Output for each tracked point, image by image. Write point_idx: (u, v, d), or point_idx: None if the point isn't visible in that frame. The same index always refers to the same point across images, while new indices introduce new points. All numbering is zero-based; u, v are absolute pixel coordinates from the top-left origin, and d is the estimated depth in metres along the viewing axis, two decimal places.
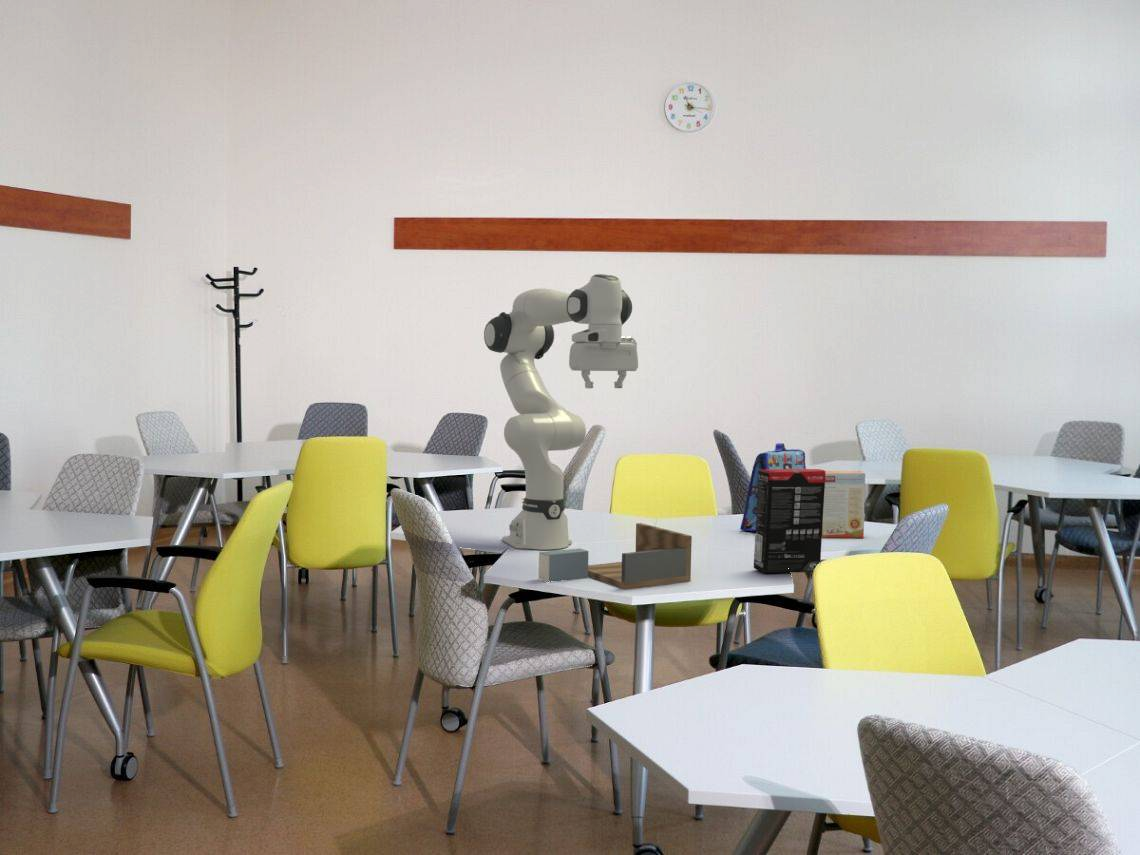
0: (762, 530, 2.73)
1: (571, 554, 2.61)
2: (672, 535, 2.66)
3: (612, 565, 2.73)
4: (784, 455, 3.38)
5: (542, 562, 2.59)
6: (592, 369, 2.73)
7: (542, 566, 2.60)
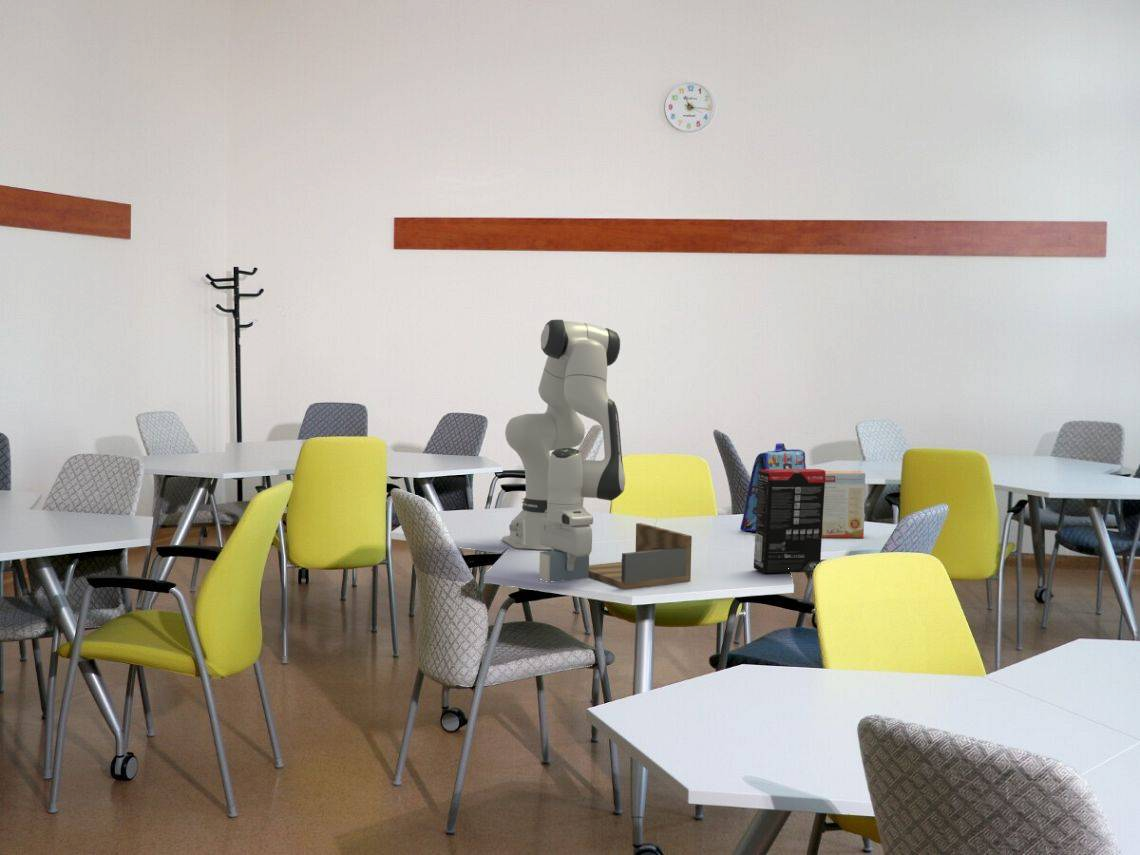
0: (762, 530, 2.73)
1: None
2: (672, 535, 2.66)
3: (612, 565, 2.73)
4: (785, 455, 3.38)
5: (543, 562, 2.60)
6: None
7: (543, 565, 2.60)
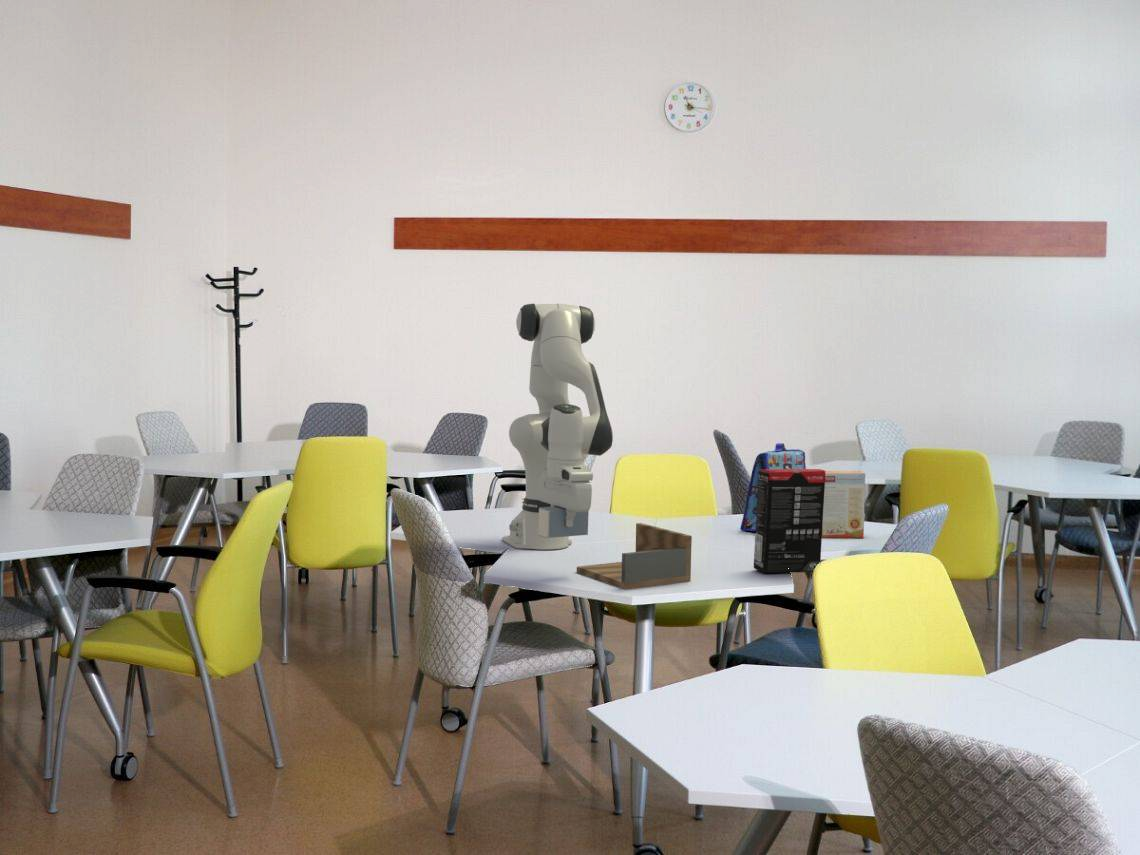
0: (762, 530, 2.73)
1: None
2: (672, 535, 2.66)
3: (612, 565, 2.73)
4: (784, 455, 3.38)
5: (542, 517, 2.59)
6: None
7: (542, 521, 2.59)
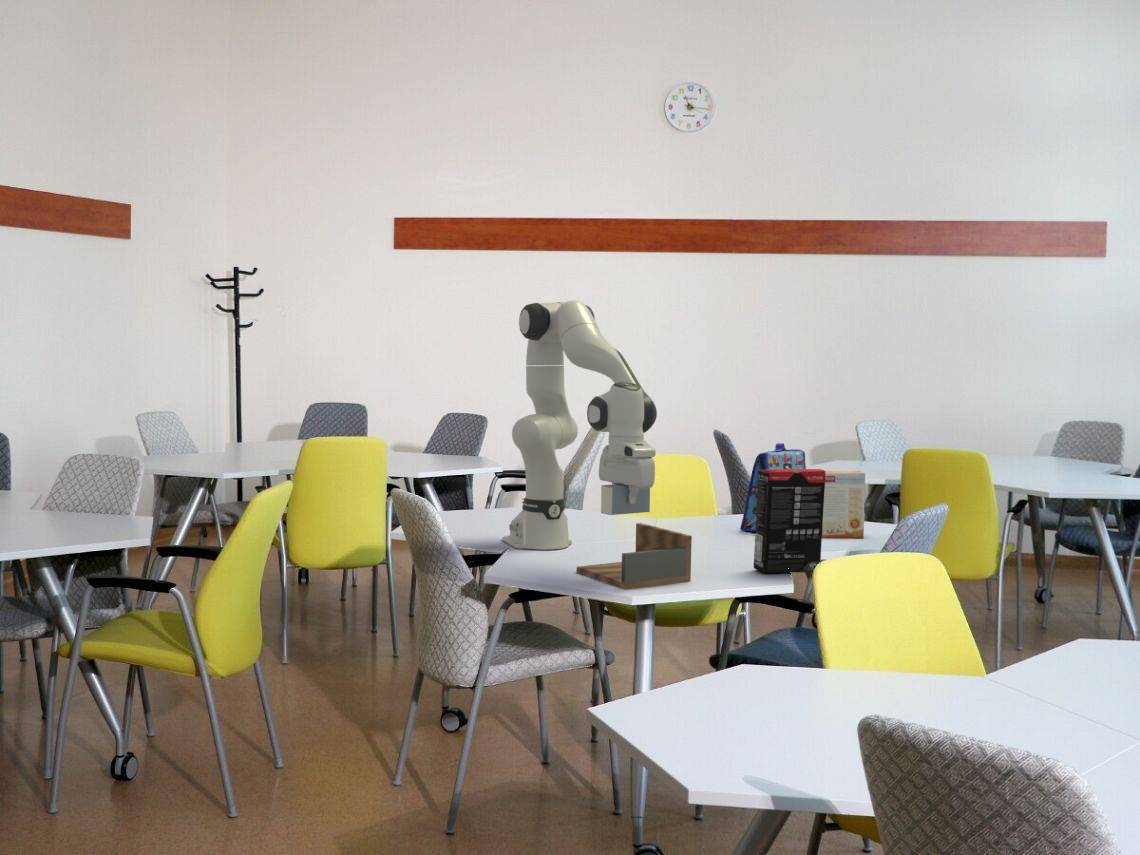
0: (762, 530, 2.73)
1: None
2: (672, 535, 2.66)
3: (612, 565, 2.73)
4: (784, 455, 3.38)
5: (605, 495, 2.60)
6: None
7: (605, 498, 2.60)
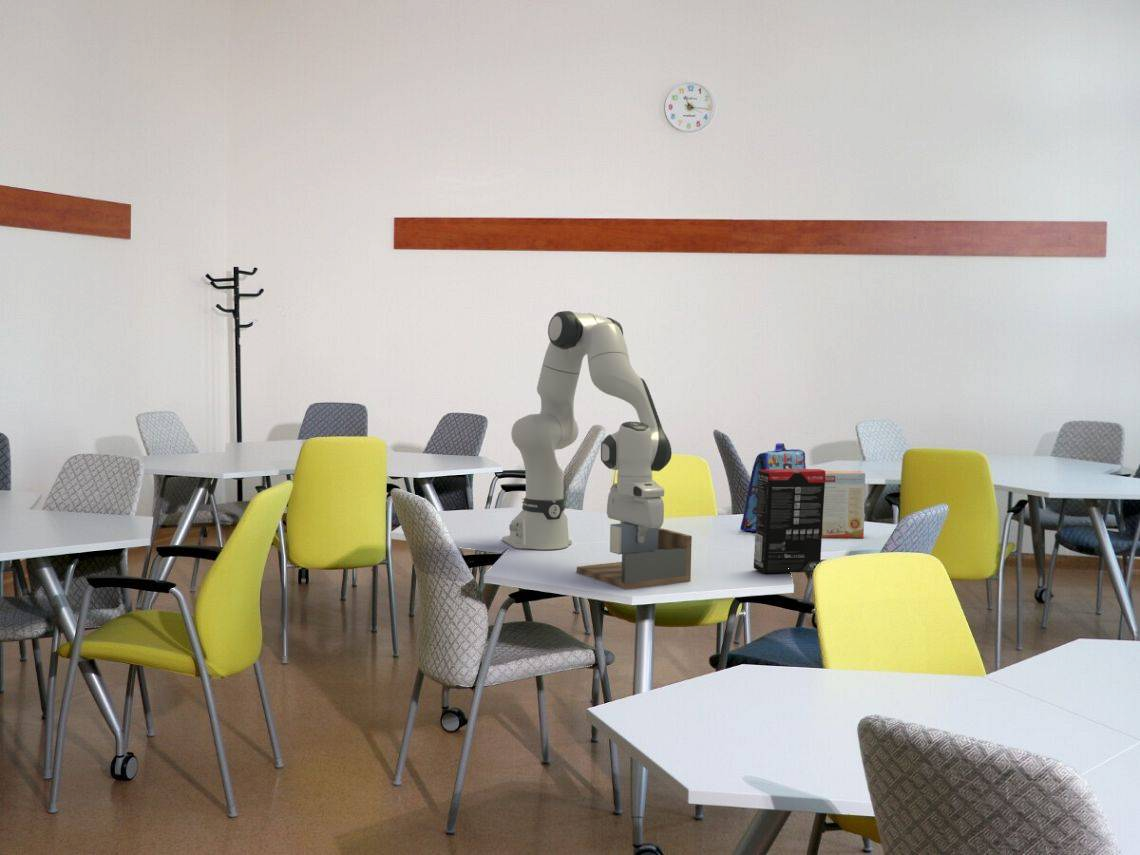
0: (762, 530, 2.73)
1: None
2: (672, 535, 2.66)
3: (612, 565, 2.73)
4: (784, 455, 3.38)
5: (614, 534, 2.62)
6: None
7: (614, 538, 2.62)
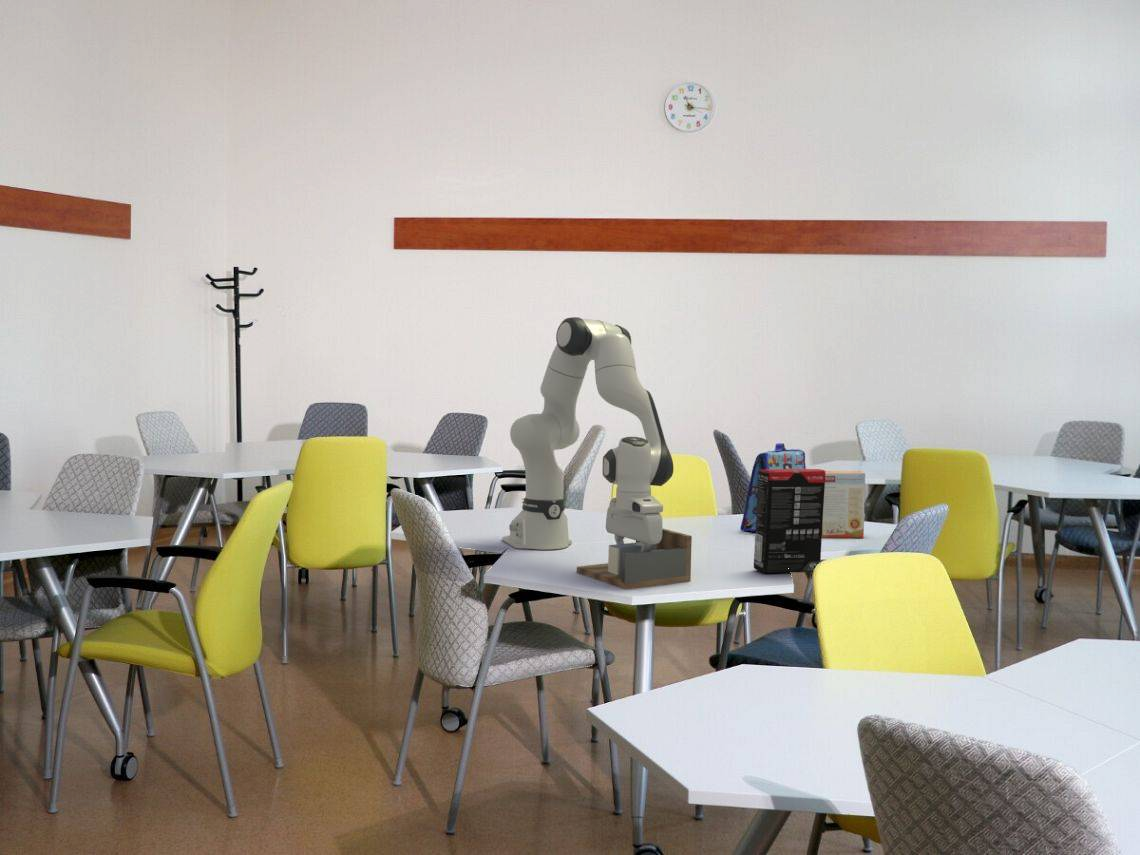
0: (762, 530, 2.73)
1: (640, 547, 2.64)
2: (672, 535, 2.66)
3: None
4: (784, 455, 3.38)
5: (612, 555, 2.62)
6: None
7: (612, 558, 2.62)
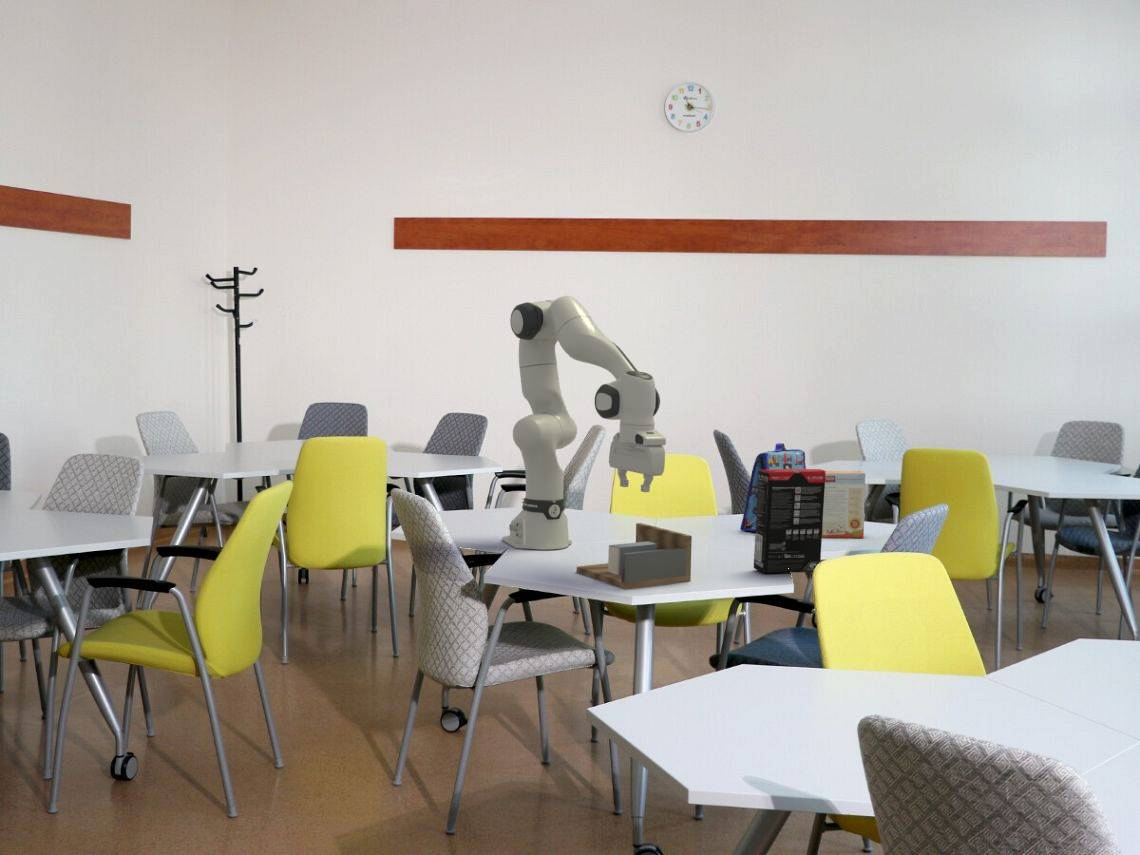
0: (762, 530, 2.73)
1: (640, 547, 2.64)
2: (672, 535, 2.66)
3: None
4: (784, 455, 3.38)
5: (612, 555, 2.62)
6: None
7: (612, 558, 2.62)
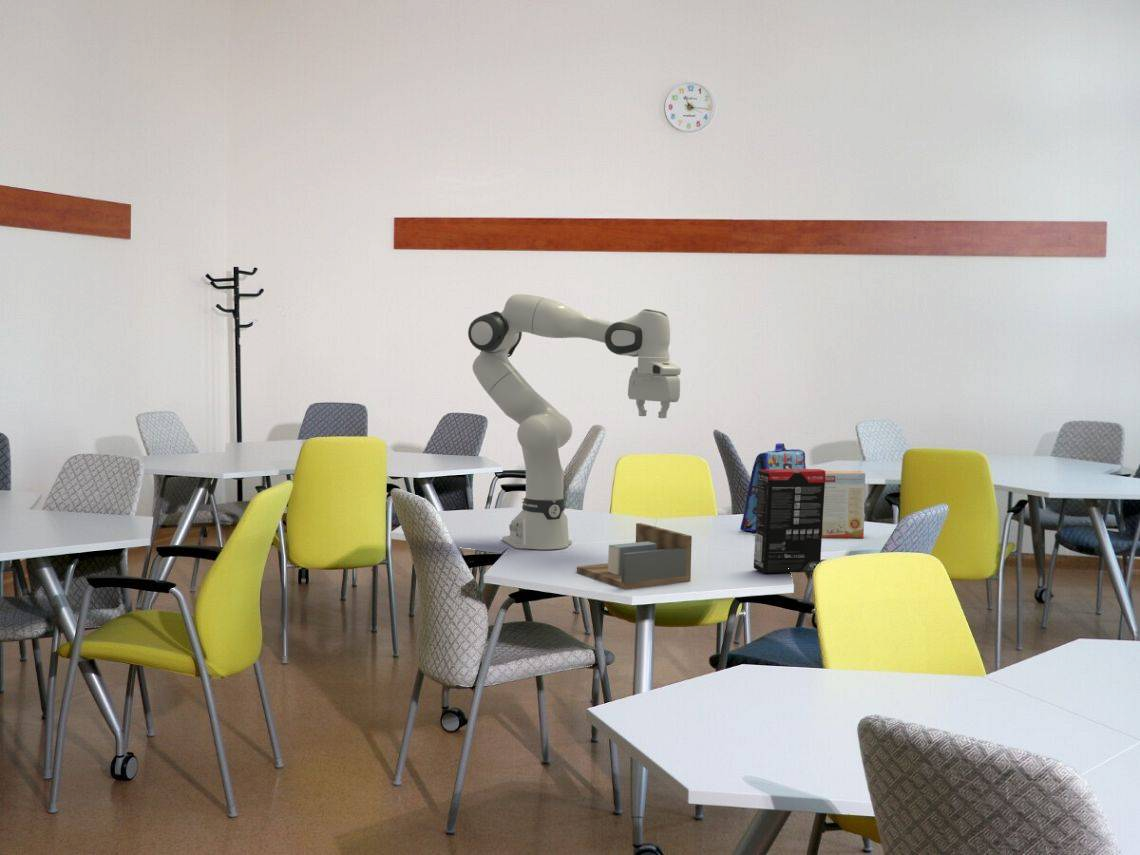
0: (762, 530, 2.73)
1: (640, 547, 2.64)
2: (672, 535, 2.66)
3: None
4: (784, 455, 3.38)
5: (612, 555, 2.62)
6: None
7: (612, 558, 2.62)
